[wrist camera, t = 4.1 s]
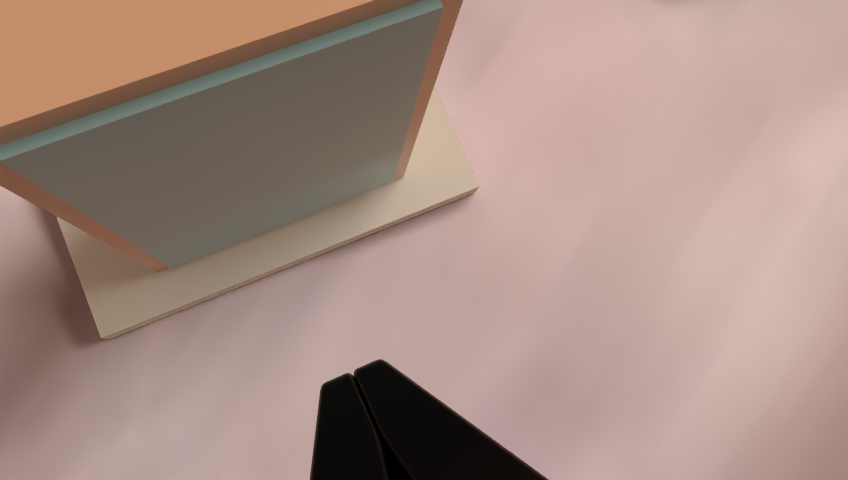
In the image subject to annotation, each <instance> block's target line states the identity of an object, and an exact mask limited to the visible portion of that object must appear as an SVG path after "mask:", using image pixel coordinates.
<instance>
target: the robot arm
mask: <svg viewBox="0 0 848 480" xmlns="http://www.w3.org/2000/svg"><path fill="white" fill-rule="evenodd" d="M354 378H355V379H354ZM310 480H548V479H547V478H546V477H544V476H543V475H541V474H540V473H539V472H537V471H536V470H535V469H533V468H532V467H530V466H529V465H528V464H526V463H525V462H524V461H522V460H521V459H519V458H518V457H517V456H515V455H514V454H513V453H511V452H510V451H508V450H507V449H506V448H504V447H503V446H502V445H500V444H499V443H498V442H496V441H495V440H493V439H492V438H491V437H489V436H488V435H487V434H485V433H484V432H482V431H481V430H480V429H478V428H477V427H476V426H474V425H473V424H471V423H470V422H469V421H467V420H466V419H465V418H463V417H462V416H460V415H459V414H458V413H456V412H455V411H454V410H452V409H451V408H449V407H448V406H447V405H445V404H444V403H443V402H441V401H440V400H438V399H437V398H436V397H434V396H433V395H432V394H430V393H429V392H427V391H426V390H425V389H423V388H422V387H421V386H419V385H418V384H416V383H415V382H414V381H412V380H411V379H410V378H408V377H407V376H405V375H404V374H403V373H401V372H400V371H399V370H397V369H396V368H394V367H393V366H392V365H390V364H389V363H388V362H386V361H384V360H380V359H379V360H376V361H374V362H371V363H369V364H367V365H364V366H362V367H360V368H358V369H356V370H355V371H354V377H353V375H352V374H350V373H346V374H344V375H342V376H339V377H337V378H335V379H332V380H330V381H328V382H326V383H324V384H323V385H322V387H321V390H320V398H319V406H318V414H317V423H316V431H315V440H314V448H313V457H312V465H311V473H310Z"/></svg>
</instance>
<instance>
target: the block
mask: <svg viewBox="0 0 848 480" xmlns="http://www.w3.org/2000/svg"><path fill="white" fill-rule="evenodd" d="M462 2H463V0H0V186H2V187H4V188H6V189H8V190H9V191H11V192H13V193H15V194H17V195H18V196H20V197H22V198H24V199H26V200H28V201H29V202H31V203H33V204H35V205H37V206H38V207H40V208H42V209H44V210H46V211H48V212H49V213H51V214H53V215H55V216H57V217H58V218H60V219H62V220H64V221H66V222H68V223H69V224H71V225H73V226H75V227H77V228H78V229H80V230H82V231H84V232H86V233H88V234H89V235H91V236H93V237H95V238H97V239H98V240H100V241H102V242H104V243H106V244H108V245H109V246H111V247H113V248H115V249H117V250H118V251H120V252H122V253H124V254H126V255H128V256H129V257H131V258H133V259H135V260H137V261H138V262H140V263H142V264H144V265H146V266H148V267H149V268H151V269H153V270H155V271H157V272H160V271H162V270H165V269H168V268H170V267H171V268H174V267H176V266H179V265H181V264H184V263H186V262H189V261H191V260H194V259H197V258H199V257H202V256H204V255H207V254H209V253H212V252H215V251H217V250H220V249H222V248H225V247H227V246H230V245H233V244H235V243H238V242H240V241H243V240H245V239H248V238H250V237H253V236H256V235H258V234H261V233H263V232H266V231H268V230H271V229H274V228H276V227H279V226H281V225H284V224H286V223H289V222H292V221H294V220H297V219H299V218H302V217H304V216H307V215H309V214H312V213H315V212H317V211H320V210H322V209H325V208H327V207H330V206H333V205H335V204H338V203H340V202H343V201H345V200H348V199H350V198H353V197H356V196H358V195H361V194H363V193H366V192H368V191H371V190H374V189H376V188H379V187H381V186H384V185H386V184H389V183H392V182H393V180H396V179H399V178H401V177H404V174H405V171H406V168H407V165H408V162H409V159H410V156H411V153H412V150H413V147H414V145H415V142H416V139H417V136H418V133H419V130H420V127H421V124H422V121H423V118H424V115H425V112H426V109H427V106H428V103H429V100H430V97H431V94H432V91H433V88H434V85H435V82H436V79H437V76H438V73H439V70H440V67H441V64H442V61H443V58H444V55H445V52H446V49H447V46H448V43H449V40H450V37H451V34H452V31H453V28H454V25H455V22H456V19H457V16H458V13H459V10H460V7H461V5H462Z"/></svg>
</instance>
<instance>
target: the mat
mask: <svg viewBox="0 0 848 480" xmlns="http://www.w3.org/2000/svg"><path fill="white" fill-rule="evenodd" d="M478 188H479V184H478V182H477V180H476V178H475V176H474V173H473V171H472V169H471V167H470V164H469V162H468V160H467V158H466V156H465V153H464V151H463V149H462V147H461V144H460V142H459V140H458V138H457V136H456V133H455V131H454V129H453V127H452V124H451V122H450V120H449V118H448V116H447V113H446V111H445V109H444V107H443V104H442V102H441V100H440V98H439V96H438V93H437V91H436V89H435V87H434V88H433V91H432V94H431V97H430V100H429V103H428V106H427V109H426V112H425V115H424V118H423V121H422V124H421V127H420V130H419V133H418V136H417V139H416V142H415V145H414V147H413V150H412V153H411V156H410V159H409V162H408V165H407V168H406V171H405V174H404V177H401V178H399V179H396V180H393V182H392V183H389V184H386V185H384V186H381V187H379V188H376V189H374V190H371V191H368V192H366V193H363V194H361V195H358V196H356V197H353V198H350V199H348V200H345V201H343V202H340V203H338V204H335V205H333V206H330V207H327V208H325V209H322V210H320V211H317V212H315V213H312V214H309V215H307V216H304V217H302V218H299V219H297V220H294V221H292V222H289V223H286V224H284V225H281V226H279V227H276V228H274V229H271V230H268V231H266V232H263V233H261V234H258V235H256V236H253V237H250V238H248V239H245V240H243V241H240V242H238V243H235V244H233V245H230V246H227V247H225V248H222V249H220V250H217V251H215V252H212V253H209V254H207V255H204V256H202V257H199V258H197V259H194V260H191V261H189V262H186V263H184V264H181V265H179V266H176V267H174V268H171V267H170V268H168V269H165V270H162V271H160V272H157V271H155V270H153V269H151V268H149V267H148V266H146V265H144V264H142V263H140V262H138V261H137V260H135V259H133V258H131V257H129V256H128V255H126V254H124V253H122V252H120V251H118V250H117V249H115V248H113V247H111V246H109V245H108V244H106V243H104V242H102V241H100V240H98V239H97V238H95V237H93V236H91V235H89V234H88V233H86V232H84V231H82V230H80V229H78V228H77V227H75V226H73V225H71V224H69V223H68V222H66V221H64V220H62V219H60V218H58V217H57V216H56V217H57V220H58V223H59V226H60V228H61V231H62V234H63V236H64V239H65V242H66V245H67V247H68V250H69V253H70V255H71V258H72V261H73V264H74V266H75V269H76V272H77V274H78V277H79V280H80V283H81V285H82V288H83V291H84V293H85V296H86V299H87V302H88V304H89V307H90V310H91V312H92V315H93V318H94V321H95V323H96V326H97V329H98V331H99V334H100V337H101V338H103V339H112V338H114V337H117V336H119V335H122V334H124V333H127V332H129V331H132V330H134V329H137V328H139V327H142V326H144V325H147V324H149V323H152V322H154V321H157V320H159V319H162V318H164V317H167V316H169V315H171V314H174V313H176V312H179V311H181V310H184V309H186V308H189V307H191V306H194V305H196V304H199V303H201V302H204V301H206V300H209V299H211V298H214V297H216V296H219V295H221V294H224V293H226V292H229V291H231V290H234V289H236V288H239V287H241V286H244V285H246V284H249V283H251V282H254V281H256V280H259V279H261V278H264V277H266V276H269V275H271V274H274V273H276V272H278V271H281V270H283V269H286V268H288V267H291V266H293V265H296V264H298V263H301V262H303V261H306V260H308V259H311V258H313V257H316V256H318V255H321V254H323V253H326V252H328V251H331V250H333V249H336V248H338V247H341V246H343V245H346V244H348V243H351V242H353V241H356V240H358V239H361V238H363V237H366V236H368V235H371V234H373V233H376V232H378V231H381V230H383V229H385V228H388V227H390V226H393V225H395V224H398V223H400V222H403V221H405V220H408V219H410V218H413V217H415V216H418V215H420V214H423V213H425V212H428V211H430V210H433V209H435V208H438V207H440V206H443V205H445V204H448V203H450V202H453V201H455V200H458V199H460V198H463V197H465V196H468V195H470V194H473V193H475V192H476V190H477V189H478Z"/></svg>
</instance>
